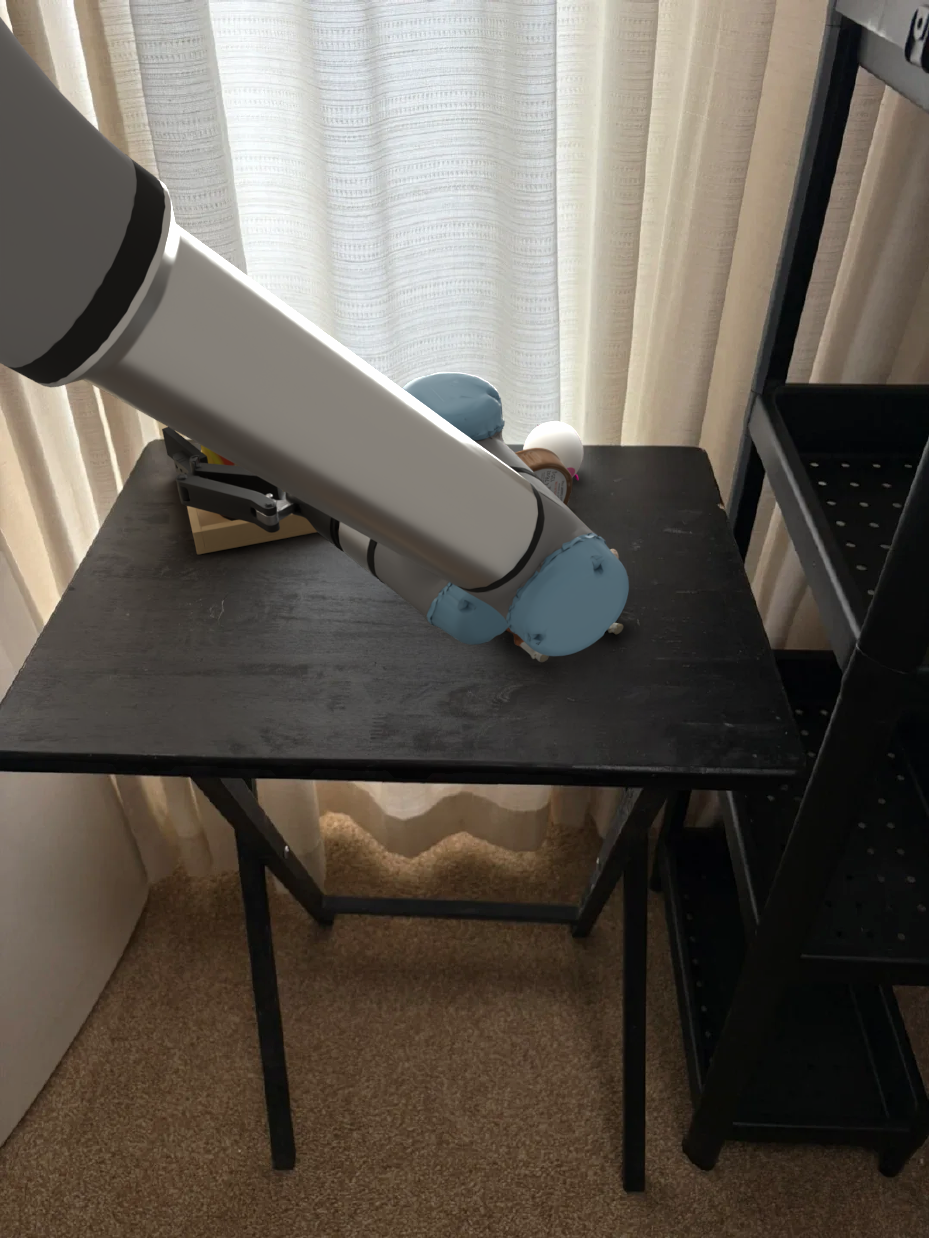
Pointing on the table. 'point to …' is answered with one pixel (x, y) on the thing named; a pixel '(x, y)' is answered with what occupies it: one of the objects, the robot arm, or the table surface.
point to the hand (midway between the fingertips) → (233, 414)
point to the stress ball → (558, 443)
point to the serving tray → (238, 531)
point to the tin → (549, 471)
